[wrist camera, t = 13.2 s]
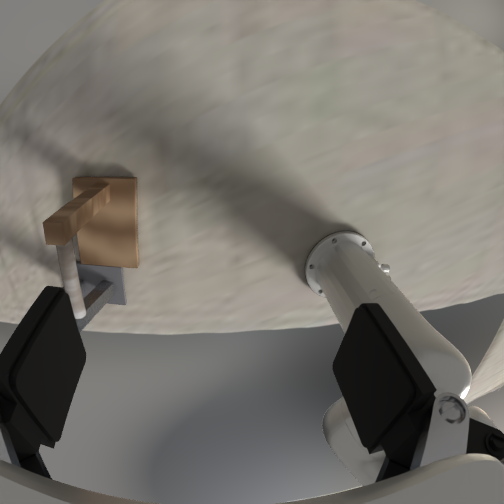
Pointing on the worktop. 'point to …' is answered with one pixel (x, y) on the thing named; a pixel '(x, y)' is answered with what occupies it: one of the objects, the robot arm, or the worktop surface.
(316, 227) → the worktop surface
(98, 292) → the grey u-shaped bracket
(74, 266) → the hook stand
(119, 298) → the rubber mat
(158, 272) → the worktop surface
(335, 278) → the robot arm
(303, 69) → the worktop surface
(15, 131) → the worktop surface
